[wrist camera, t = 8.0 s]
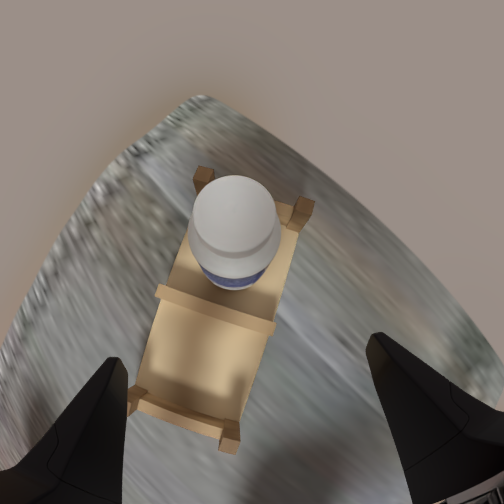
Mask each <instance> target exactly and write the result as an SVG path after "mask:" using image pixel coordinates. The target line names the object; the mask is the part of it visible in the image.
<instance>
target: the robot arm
mask: <svg viewBox="0 0 504 504" xmlns="http://www.w3.org/2000/svg"><path fill="white" fill-rule="evenodd" d="M366 356H367V359H368V363H369V367H370V370H371V374H372V378H373V382H374V385H375V389H376V391H377V394H378V397H379V399H380V402H381V405H382V408H383V410H384V413H385V416H386V419H387V422H388V424H389V427H390V430H391V433H392V436H393V439H394V442H395V445H396V448H397V451H398V454H399V457H400V461H401V464H402V467H403V470H404V474H405V478H406V481H407V485H408V488H409V492H410V495H411V499H412V503H413V504H433V503H436V502H439V501H441V500H444V499H445V501H443V502H441V503H440V504H504V412H501V411H497V410H495V409H493V408H491V407H490V406H488V405H486V404H485V403H483V402H481V401H479V400H478V399H476V398H474V397H473V396H471V395H469V394H468V393H466V392H465V391H463V390H462V389H460V388H459V387H458V386H456V385H455V384H453V383H452V382H449V380H448V379H446V378H445V377H444V376H442V375H441V374H440V373H438V372H437V371H436V370H434V369H433V368H431V367H430V366H429V365H427V364H426V363H425V362H423V361H422V360H420V359H419V358H418V357H416V356H415V355H414V354H412V353H411V352H409V351H408V350H407V349H405V348H404V347H403V346H401V345H400V344H398V343H397V342H396V341H394V340H393V339H391V338H390V337H389V336H387V335H386V334H384V333H383V332H378V333H373V334H372V335H371V336H370V339H369V341H368V344H367V346H366ZM127 401H128V372H127V370H126V368H125V366H124V365H123V363H122V361H121V359H120V358H118V357H109V358H107V359H106V360H105V362H104V363H103V364H102V365H101V366H100V367H99V369H98V370H97V371H96V372H95V373H94V375H93V376H92V377H91V378H90V379H89V380H88V382H87V383H86V384H85V385H84V386H83V388H82V389H81V390H80V391H79V393H78V394H77V395H76V396H75V397H74V399H73V400H72V401H71V402H70V404H69V405H68V406H67V407H66V409H65V410H64V411H63V412H62V414H61V415H60V416H59V417H58V419H57V420H56V421H55V423H54V424H53V425H52V426H51V427H50V429H49V430H48V431H47V432H46V434H45V435H44V436H43V437H42V439H41V440H40V441H39V442H38V443H37V444H36V445H35V446H34V447H33V448H32V449H31V450H30V451H29V452H28V453H27V455H26V456H25V457H24V458H23V459H22V460H21V461H20V462H19V463H18V464H17V465H15V466H14V467H12V468H10V469H7V470H3V471H0V504H122V473H123V455H124V442H125V431H126V421H127Z"/></svg>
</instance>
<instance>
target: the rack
mask: <svg viewBox="0 0 504 504" xmlns="http://www.w3.org/2000/svg"><path fill="white" fill-rule="evenodd" d="M214 180H215V176H214V170H213V169H210V168H206V167H202V166H198V168H197V171H196V173H195V175H194V177H193V182H194V185H195V189H196V193H197V196H198V194H199V193H200V191H201V190H202V189H203V188H204V187H205V186H206V185H207V184H209V183H210V182H212V181H214ZM274 203H275V207H276V213H277V215H278V218H279V221H280V225H281V241H280V245H279V248H278V251H277V253H276V255H275V257H274V258H273V260H272V261H271V263H270V265H269V266H268V268H267V269H266V271H265V272H264V274H263V275H262V276H261V278H260V279H259V280H258V281H257V282H256V283H255V284H253V285H251V286H250V287H247V288H245V289H241V290H227V289H223V288H221V287H219V286H217V285H215V284H214V283H212V282H211V281H210V280H209V279H208V278H207V277H206V275H205V274H204V273H203V271H202V269H201V267H200V265H199V264H198V262H197V260H196V259H195V257H194V255H193V254H192V251H191V248H190V245H189V241H188V229H187V231H186V234H185V236H184V239H183V241H182V244H181V246H180V249H179V252H178V254H177V257H176V259H175V262H174V265H173V268H172V270H171V273H170V276H169V279H168V281H167V284H166V286H165V285H162V284H159V285H158V288H157V291H156V294H155V296H156V297H158V298H161V301H160V304H159V307H158V310H157V313H156V316H155V319H154V322H153V326H152V329H151V332H150V335H149V338H148V342H147V345H146V348H145V351H144V355H143V358H142V362H141V365H140V369H139V372H138V376H137V379H136V383H135V385H134V386H132V387H130V388H129V389H128V401H127V417H128V416H130V415H131V414H132V413H133V412H134V411H135V410H137V409H138V410H140V411H142V412H145V413H147V414H149V415H151V416H154V417H156V418H159V419H161V420H164V421H166V422H169V423H171V424H174V425H177V426H180V427H182V428H185V429H188V430H191V431H194V432H197V433H200V434H203V435H206V436H210V437H213V438H216V439H220V440H219V449H218V451H222V452H226V453H229V454H233V455H235V454H236V452H237V449H238V447H239V444H240V427H239V421H240V419H241V416H242V413H243V410H244V407H245V405H246V402H247V399H248V396H249V393H250V390H251V387H252V385H253V382H254V379H255V376H256V373H257V370H258V367H259V364H260V361H261V358H262V355H263V352H264V349H265V346H266V342H267V339H268V336H269V335H270V336H273V333H274V330H275V327H276V323H275V322H273V320H274V317H275V314H276V311H277V307H278V304H279V301H280V298H281V294H282V291H283V288H284V284H285V281H286V277H287V274H288V270H289V267H290V263H291V260H292V256H293V253H294V249H295V246H296V242H297V239H298V235H299V232H300V231H301V229H302V228H303V227H304V225H305V224H306V222H307V221H308V220H309V218H310V217H311V215H312V211H313V207H314V203H315V201H313V200H310V199H307V198H304V197H301V196H299V198H298V200H297V202H296V204H295V206H294V207H293V206H290V205H287V204H284V203H281V202H278V201H275V200H274Z"/></svg>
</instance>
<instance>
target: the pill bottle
mask: <svg viewBox="0 0 504 504" xmlns="http://www.w3.org/2000/svg"><path fill="white" fill-rule="evenodd" d="M188 241H189V245H190V248H191V251H192V254H193V255H194V257H195V259H196V260H197V262H198V264H199V265H200V267H201V269H202V271H203V273H204V274H205V275H206V277H207V278H208V279H209V280H210V281H211V282H212V283H214V284H215V285H217V286H219V287H221V288H223V289H227V290H241V289H245V288H247V287H250V286H251V285H253V284H255V283H256V282H257V281H258V280H259V279H260V278H261V276H262V275H263V274H264V272H265V271H266V269H267V268H268V266H269V265H270V263H271V261H272V260H273V258H274V257H275V255H276V253H277V251H278V248H279V245H280V241H281V225H280V221H279V218H278V215H277V213H276V207H275V203H274V200H273V198H272V196H271V194H270V193H269V192H268V190H267V189H266V188H265V187H264V186H263V185H261V184H260V183H259V182H257V181H255V180H253V179H251V178H248V177H245V176H239V175H230V176H224V177H221V178H218V179H215V180H214V181H212V182H210V183H209V184H207V185H206V186H205V187H204V188H203V189H202V190H201V191H200V193H199V194H198V196H197V198H196V200H195V203H194V207H193V212H192V214H191V217H190V220H189V224H188Z"/></svg>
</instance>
